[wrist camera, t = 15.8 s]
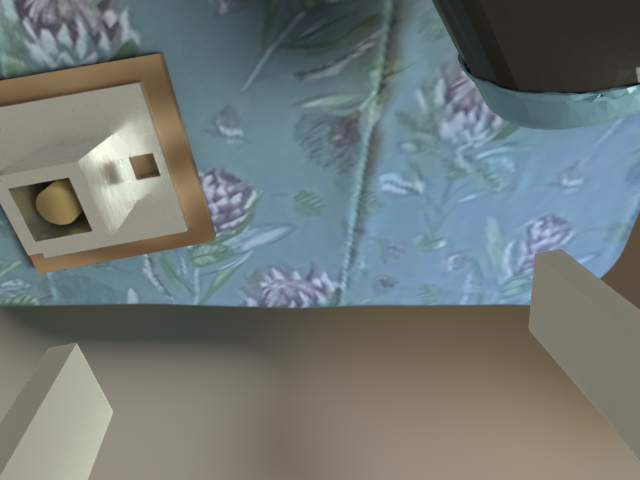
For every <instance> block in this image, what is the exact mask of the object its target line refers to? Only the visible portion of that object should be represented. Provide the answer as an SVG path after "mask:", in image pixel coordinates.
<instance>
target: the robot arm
mask: <svg viewBox="0 0 640 480" xmlns="http://www.w3.org/2000/svg"><path fill="white" fill-rule="evenodd" d="M432 2H433V4H434V6H435V8H436V10H437V12H438V13H439V15H440V17H441V19H442V21H443V23H444V25H445V27H446V29H447V31H448V33H449V35H450V37H451V39H452V41H453V43H454V45H455V47H456V49H457V51H458V53H459V55H458V60H459V63H460V65H461V67H462V69H463V71H464V72H465V74H466V75H467V76H468V77H469V78H470V79H471V80H472V81H473V82H474V83H475V85H476V87H477V88H478V90H479V92H480V94H481V95H482V97H483V99H484V101H485V102H486V104H487V105H488V107H489V108H490V109H491V110H492V111H493V112H494V113H496V114H497V115H499V116H500V117H501V118H502V119H504V120H506V121H508V122H509V123H512V124H515V125H518V126H522V127H526V128H532V129H541V130H561V129H573V128H581V127H587V126H593V125H598V124H602V123H606V122H610V121H613V120H617V119H620V118H623V117H627V116H629V115H632V114H635V113H637V112H640V0H432ZM529 330H530V331H531V333H532V334H533V335H534V336H535V337H536V338H537V340H538V341H539V342H540V343H541V344H542V345H543V346H544V348H545V349H546V350H547V351H548V353H549V354H550V355H551V356H552V357H553V358H554V359H555V361H556V362H557V363H558V364H559V365H560V367H561V368H562V369H563V370H564V371H565V372H566V374H567V375H568V376H569V377H570V378H571V379H572V381H573V382H574V383H575V384H576V385H577V386H578V388H579V389H580V390H581V391H582V392H583V394H584V395H585V396H586V397H587V398H588V399H589V400H590V402H591V403H592V404H593V405H594V406H595V408H596V409H597V410H598V411H599V412H600V413H601V415H602V416H603V417H604V418H605V419H606V420H607V422H608V423H609V424H610V425H611V426H612V427H613V429H614V430H615V431H616V432H617V433H618V434H619V436H620V437H621V438H622V439H623V440H624V442H625V443H626V444H627V445H628V446H629V447H630V449H631V450H632V451H633V452H634V453H635V454H636V456H637V457H638V458H639V459H640V310H639V309H638V308H636V307H635V306H634V305H632V304H631V303H630V302H629V301H627V300H626V299H625V298H624V297H622V296H621V295H620V294H618V293H617V292H616V291H614V290H613V289H612V288H610V287H609V286H608V285H607V284H605V283H604V282H603V281H602V280H600V279H599V278H598V277H596V276H595V275H594V274H593V273H591V272H590V271H589V270H587V269H586V268H585V267H584V266H582V265H581V264H580V263H578V262H577V261H576V260H575V259H573V258H572V257H571V256H569V255H568V254H567V253H565V252H564V251H563V250H562V249H558V250H553V251H548V252H543V253H538V254H535V262H534V273H533V285H532V296H531V308H530V319H529ZM112 414H113V411H112V409H111V407H110V405H109V403H108V401H107V399H106V397H105V395H104V393H103V392H102V390H101V388H100V386H99V384H98V382H97V380H96V378H95V376H94V374H93V373H92V371H91V369H90V367H89V365H88V363H87V361H86V360H85V358H84V356H83V354H82V352H81V350H80V348H79V346H78V345H77V343H73V344H67V345H63V346H57V347H52V348H49V349H48V350H47V352H46V354H45V355H44V357H43V358H42V360H41V361H40V363H39V364H38V366H37V367H36V369H35V370H34V372H33V374H32V375H31V377H30V378H29V380H28V381H27V383H26V384H25V386H24V387H23V389H22V391H21V392H20V393H19V395H18V397H17V398H16V400H15V401H14V403H13V404H12V406H11V407H10V409H9V410H8V412H7V414H6V415H5V417H4V418H3V420H2V421H1V423H0V480H88V477H89V474H90V472H91V469H92V467H93V464H94V461H95V459H96V456H97V453H98V451H99V448H100V446H101V443H102V440H103V437H104V435H105V432H106V429H107V427H108V425H109V422H110V419H111V417H112Z"/></svg>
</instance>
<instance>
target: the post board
mask: <svg viewBox="0 0 640 480" xmlns="http://www.w3.org/2000/svg"><path fill="white" fill-rule="evenodd" d="M140 81H143V83H144V86H145V90H146V93H147V96H148V99H149V102H150V105H151V108H152V111H153V114H154V117H155V120H156V123H157V126H158V130H159V133H160V136H161V139H162V142H163V145H164V148H165V151H166V154H167V157H168V160H169V163H170V167H171V170H172V173H173V176H174V179H175V182H176V185H177V188H178V191H179V194H180V197H181V200H182V204H183V207H184V210H185V213H186V216H187V219H188V222H189V225H190V227H189V230H188V231H186V232H181V233H176V234H170V235H165V236H160V237H154V238H149V239H144V240H138V241H133V242H128V243H123V244H117V245H112V246H107V247H101V248H96V249H91V250H86V251H80V252H75V253H70V254H64V255H59V256H54V257H48V258H45V257H44V255H43V253H40V254H34V255H29V256H30V258H31V260H32V262H33V264H34V266H35V267H36V269H37V271H38V273H39V274H41V273H46V272H51V271H57V270H62V269H67V268H73V267H78V266H83V265H89V264H94V263H99V262H105V261H110V260H115V259H121V258H126V257H131V256H137V255H142V254H147V253H153V252H158V251H163V250H169V249H174V248H179V247H185V246H190V245H195V244H200V243H206V242H211V241H215V236H216V233H215V230H214V226H213V223H212V219H211V216H210V213H209V209H208V206H207V202H206V199H205V196H204V192H203V189H202V185H201V182H200V179H199V175H198V172H197V168H196V165H195V162H194V158H193V155H192V151H191V148H190V145H189V141H188V138H187V134H186V131H185V128H184V124H183V121H182V117H181V114H180V111H179V107H178V104H177V100H176V97H175V94H174V90H173V87H172V83H171V80H170V77H169V73H168V70H167V66H166V63H165V60H164V56H163V53H162V52H161V53H156V54H150V55H144V56H138V57H132V58H127V59H121V60H115V61H109V62H103V63H98V64H92V65H86V66H80V67H74V68H69V69H63V70H57V71H51V72H46V73H40V74H34V75H28V76H22V77H17V78H11V79H5V80H0V106H4V105H10V104H15V103H21V102H27V101H32V100H38V99H44V98H49V97H55V96H61V95H66V94H72V93H78V92H83V91H89V90H94V89H100V88H106V87H111V86H117V85H123V84H128V83H134V82H140ZM133 158H134V161H135V164H136V166H137V169H138V172H139V175H140V176H144V175H149V174H155V173H160V172H159V170H158V167H157V164H156V161H155V158H154V155H153V153H149V154H144V155H138V156H133ZM36 207H37V210H38V212H39V213H40V215H41V216H42V217H43V218H44V219H46V220H47V221H49V222H51V223H54V224H58V225H64V224H69V223H71V222H73V221H74V220H75V219H76V218H77V217H78V216H79V215H80V213H81V212H82V211H83V208H82V206H81V204H80V201H79V199H78V197H77V195H76V192H75V190H74V188H73V186H72V183H71V181H70V179H69V178H63V179H58V180H56V181H55V182H53V183H52V184H51V185H50V186H48V187H47V188H46V189H44V190H43V191H42V192H41V193H40V194H39V195H38V196H37V199H36Z"/></svg>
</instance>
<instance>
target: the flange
mask: <svg viewBox="0 0 640 480" xmlns="http://www.w3.org/2000/svg"><path fill="white" fill-rule="evenodd" d="M149 153H153V155H154V158H155V161H156V164H157V167H158V170H159V172H160V173H155V174H149V175H144V176H140V175H139V172H138V169H137V166H136V164H135V161H134V158H133V156H138V155H144V154H149ZM63 178H69V179H70V181H71V183H72V186H73V188H74V190H75V192H76V195H77V197H78V199H79V201H80V204H81V206H82V208H83V211H82V212H81V213H80V215H79V216H78V217H77V218H76V219H75V220H74V221H73V222H71V223H69V224H64V225H58V224H54V223H51V222H49V221H47V220H46V219H44V218H43V217H42V216H41V215H40V213H39V212H38V210H37V207H36V199H37V196H38V195H39V194H40V193H41V192H42V191H43V190H44V189H46V188H47V187H48V186H50V185H51V184H52V183H53V182H55V181H56V180H58V179H63ZM0 204H1V206H2V207H3V209H4V211H5V213H6V215H7V217H8V219H9V221H10V222H11V224H12V226H13V228H14V230H15V232H16V234H17V236H18V237H19V239H20V241H21V243H22V245H23V247H24V249H25V251H26V252H27V254H28V256H29V255H34V254H40V253H43V255H44V257H45V258H48V257H54V256H59V255H64V254H70V253H75V252H80V251H86V250H91V249H96V248H101V247H107V246H112V245H117V244H123V243H128V242H133V241H138V240H144V239H149V238H154V237H160V236H165V235H170V234H176V233H181V232H186V231H188V230H189V227H190V225H189V222H188V219H187V216H186V213H185V210H184V207H183V204H182V200H181V197H180V194H179V191H178V188H177V185H176V182H175V179H174V176H173V173H172V170H171V167H170V163H169V160H168V157H167V154H166V151H165V148H164V145H163V142H162V139H161V136H160V133H159V130H158V126H157V123H156V120H155V117H154V114H153V111H152V108H151V105H150V102H149V99H148V96H147V93H146V90H145V86H144V83H143V81H140V82H134V83H128V84H123V85H117V86H111V87H106V88H100V89H94V90H89V91H83V92H78V93H72V94H66V95H61V96H55V97H49V98H44V99H38V100H32V101H27V102H21V103H15V104H10V105H4V106H0Z"/></svg>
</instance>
